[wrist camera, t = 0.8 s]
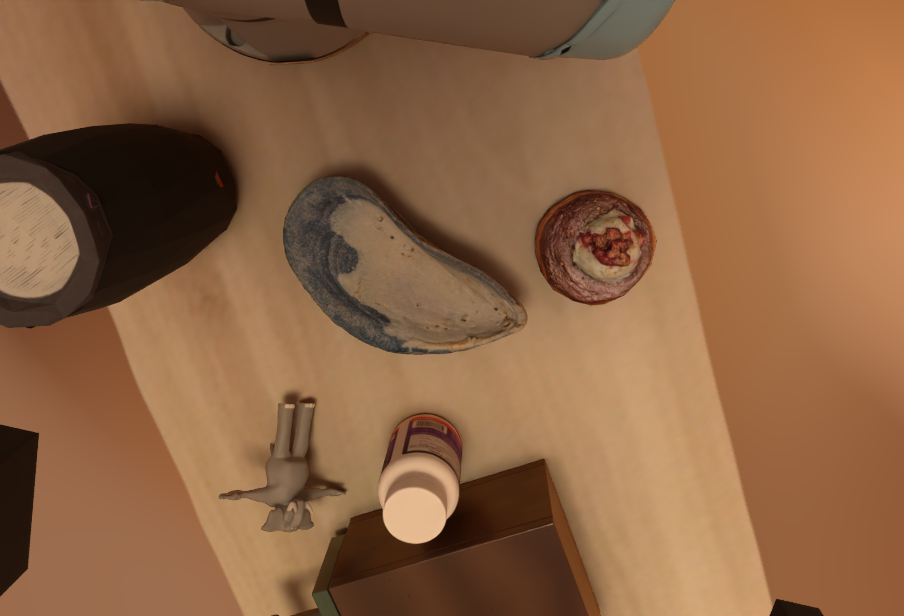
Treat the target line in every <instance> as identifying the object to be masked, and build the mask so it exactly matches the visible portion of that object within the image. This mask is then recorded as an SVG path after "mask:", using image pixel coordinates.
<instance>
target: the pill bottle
mask: <svg viewBox="0 0 904 616" xmlns="http://www.w3.org/2000/svg"><path fill="white" fill-rule="evenodd" d="M461 457H462V445H461V440H460V437H459V435H458V433H457V431H456V430H455V428H454V427H453V426H452V425H451V424H450V423H449V422H447V421H446V420H444V419H442V418H440V417H438V416H434V415H429V414H421V415H416V416H412V417H410V418H408V419H406V420H404V421H403V422H402V423H401V424H399V426H398V427H397V428H396V429H395V431H394V432H393V434H392V437H391V439H390V442H389V446H388V450H387V454H386V457H385V461H384V465H383V468H382V472H381V475H380V479H379V484H378V498H379V501H380V504H381V506H382V508H383V520H384V524H385V526H386V528H387V529H388V531H389V532H390V533H391V534H392V535H393V536H394V537H396V538H397V539H399V540H401V541H404V542H407V543H413V544H418V543H424V542H427V541H430V540H432V539H433V538H435V537H436V536H437V535H438V534H439V533H440V532H441V531H442V529H443V528H444V525H445V523H446V519H448V518H449V517H450V516H451V514H452V513H453V511H454V510H455V508H456V506H457V503H458V498H459V490H460V471H461Z"/></svg>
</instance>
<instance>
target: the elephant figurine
mask: <svg viewBox="0 0 904 616" xmlns="http://www.w3.org/2000/svg"><path fill="white" fill-rule="evenodd" d="M314 406H315V404H309V403H298V415H297V423H296V432H295V438H294V443H293V448H292V450H291V451H290V452H289V447H290V437H291V428H292V419H293V411H294V407H295V405H294V404H278V426H277V434H276V440H275V445H274V447H273V445H272V443H271V444H270V450H271V457H270V458H269V460H268V461H267V463H266V475H267V486H266V487H264V488H258V489H254V490H250V491H241V490H235V491H231V492H228V493H225V494H221V495H219V498H220V499H230V500H239V499H241V498H248V499H251V500H254V501H258V502H263V503H266V504H267V505H269V506H271V507H275V510H271V511H270V513H269V515H268V518H267V521H266V523H265V524H264V525H263V526H262V527H261V529H262V530H264V531H268V532H273V531H284V532H293V531H297V529H302V530H307V529H310V528H312V527H313V526H314V524H313V522H312V521H311V517H310V512H311V513H312V514H313V513H314V512H313V510H312V508H311V506H310V504H309V503H308V502H307V501H309V500H312V499H315V498H319V497H323V496H328V495H329V496H338V495H341V494H346V492H344V491H340V490H335V489H333V488H326V489H319V488H312V487H310V488H305V487H304V485H305V483H306V481H307V479H308V477H309V467H308V464H307V461H306V459H305V454H306V452H307V450H308V441H309V433H310V425H311V419H312V414H313V409H314Z"/></svg>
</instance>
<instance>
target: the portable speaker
mask: <svg viewBox="0 0 904 616" xmlns="http://www.w3.org/2000/svg"><path fill="white" fill-rule="evenodd" d="M236 209H237V208H236V202H235V189H234V180H233V177H232V175H231V173H230V171H229V168H228V166H227V164H226V161H225V159H224V158H223V157H222V154H221V151H220V150H218V149H217V148H216V147H214V146H213V145H212V144H211V143H209V142H208V141H207V140H205V139H204V138H203V137H201V136H200V135H196V134H189V133H186V132H182V131H178V130H174V129H171V128H167V127H163V126H159V125H150V124H131V123H129V124H116V125H103V126H91V127H85V128H80V129H74V130H69V131H63V132H58V133H52V134H47V135H42V136H39V137H36V138H34V139H31V140H28V141H25V142H22V143H19V144H16V145H13V146H10V147H7V148H4V149H1V150H0V325H3V326H5V327H8V328H14V327H27V328H33V327H35V326H48V325H52V324H54V323H56V322H58V321H60V320H62V319H64V318H66V317H70V316H74V315H77V314H81V313H85V312H89V311H92V310H96V309H100V308H103V307H106V306H109V305H112V304H115V303H118V302H120V301H122V300H124V299H126V298H127V297H129V296H131V295H133V294H134V293H136V292H138V291H140V290H141V289H143V288H145V287H147V286H148V285H150V284H152V283H154V282H155V281H157V280H159V279H161V278H162V277H164V276H166V275H168V274H169V273H171V272H173V271H175V270H176V269H178V268H180V267H182V266H183V265H185V264H187V263H188V262H189V261H190V260H192V259H193V258H194V257H195V256H196V255H197V254H198V253H200V252H201V251H202V250H203V249H204V248H205V247H206V246H208V245H209V244H210V243H211V242H212V241H213V240H214V239H215V238H217V237H218V236H219V235H220V234H221V233H223V232H224V231H225V230H227V228H228V226H229V224H230V221H231V219H232V217H233V215H234V213H235V211H236Z"/></svg>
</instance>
